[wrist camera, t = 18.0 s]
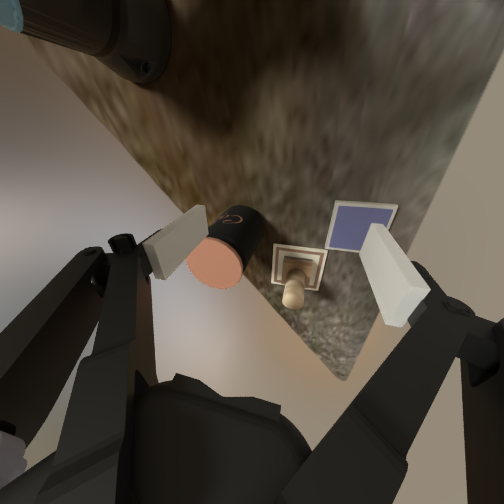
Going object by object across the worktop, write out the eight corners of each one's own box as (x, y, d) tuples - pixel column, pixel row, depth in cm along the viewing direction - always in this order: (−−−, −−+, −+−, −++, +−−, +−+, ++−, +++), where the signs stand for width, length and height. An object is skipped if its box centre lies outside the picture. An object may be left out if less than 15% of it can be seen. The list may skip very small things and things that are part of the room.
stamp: (282, 276, 52) (275, 310, 43) (284, 255, 48) (277, 287, 39) (308, 280, 51) (307, 316, 41) (312, 259, 47) (312, 293, 37)
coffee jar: (254, 197, 43) (224, 231, 28) (270, 237, 47) (251, 285, 33) (216, 211, 47) (174, 247, 33) (234, 246, 52) (204, 292, 37)
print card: (271, 281, 55) (271, 283, 54) (273, 243, 48) (273, 244, 47) (318, 289, 52) (318, 291, 52) (327, 249, 45) (327, 251, 44)
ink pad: (324, 246, 45) (325, 249, 43) (335, 199, 39) (336, 202, 37) (376, 252, 42) (378, 255, 41) (396, 203, 36) (399, 206, 35)
